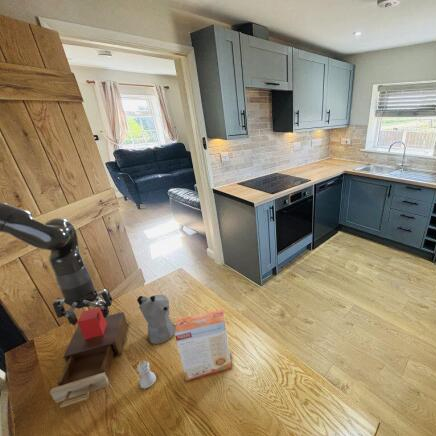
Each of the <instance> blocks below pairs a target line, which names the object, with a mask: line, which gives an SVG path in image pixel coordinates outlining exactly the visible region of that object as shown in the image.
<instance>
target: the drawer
mask: <svg viewBox="0 0 436 436" xmlns="http://www.w3.org/2000/svg"><path fill="white" fill-rule="evenodd" d="M114 353H115V350H114V348H113V345H109V346H105V347H102V348H98V349H95V350H91V351H87V352H84V353H80V354H77V355H73V356H70V357H69V359H68V362H67V363H65V365H64V368H63V370H62V372H61V374H60V377H59V379H58V381H57V386H56V387H53V388H51V389H50V391H49V394H50V396H51V397H52V399H53V400H54V403H56V404H58V403H60V405H59V407H60V409H64V408H67V407H70V406H73V405H75V404H79V403H82V402H85V401H88V400H89V399H90V397H91V394H90V393H91V392H95V391H97V390H100V389H103V388H106V387H109V385H110V381H109V374H110V372H111V371H110V370H111V367H112V364H113V359H114V358H115V357H114Z"/></svg>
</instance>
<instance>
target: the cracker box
mask: <svg viewBox="0 0 436 436" xmlns="http://www.w3.org/2000/svg"><path fill="white" fill-rule="evenodd" d="M227 330H228V329H227V322H226V316H225V309H224V308H220V309H217V310H213V311H208V312H204V313H199V314H194V315H190V316H184V317H180V318H176V322H175V331H174V336H175V341H176V345H177V349H178V353H179V358H180V361H181V366H182V369H183V373H184V378H185V380H186V381H187V382H188V381H191V380H194V379H197V378H202V377H204V376H208V375H211V374H214V373H218V372H221V371H225V370H228V369H231V368H232V363H231V353H230V345H229V338H228V331H227Z"/></svg>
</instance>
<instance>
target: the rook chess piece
mask: <svg viewBox="0 0 436 436" xmlns="http://www.w3.org/2000/svg"><path fill="white" fill-rule="evenodd" d="M150 369H151V367H150V363H149V361H146V360H142V361H140V362H139V364H138V365H137V368H136V371H137V372H138V373H139V375H140V379H139V387H140V388H141V389H148V388H151V386H153V385H154V384H155V382H156V380H157V376H156V374H155V372H153V371H151V370H150Z"/></svg>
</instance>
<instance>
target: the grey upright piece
mask: <svg viewBox="0 0 436 436" xmlns="http://www.w3.org/2000/svg"><path fill="white" fill-rule="evenodd" d="M136 302H137V303H138V305H139V306H138V308H139V310H140V312H141V314H142V315H143V317H144V319H145V321H146V323H147V338H148V339H149V342H150V343H151V344H155V345H157V344H163V343H165V342H167V341H168V340H170V339H171V338H172V337H173V336H174V335H175V329H176V327H175V326H174V324H173V322H172V320H171V318H170V300H169V298H168V297H167V296H166V295H165V294H155V295H151V296H150V297H146V296H143V295H140V296H138V297H137V299H136Z"/></svg>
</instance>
